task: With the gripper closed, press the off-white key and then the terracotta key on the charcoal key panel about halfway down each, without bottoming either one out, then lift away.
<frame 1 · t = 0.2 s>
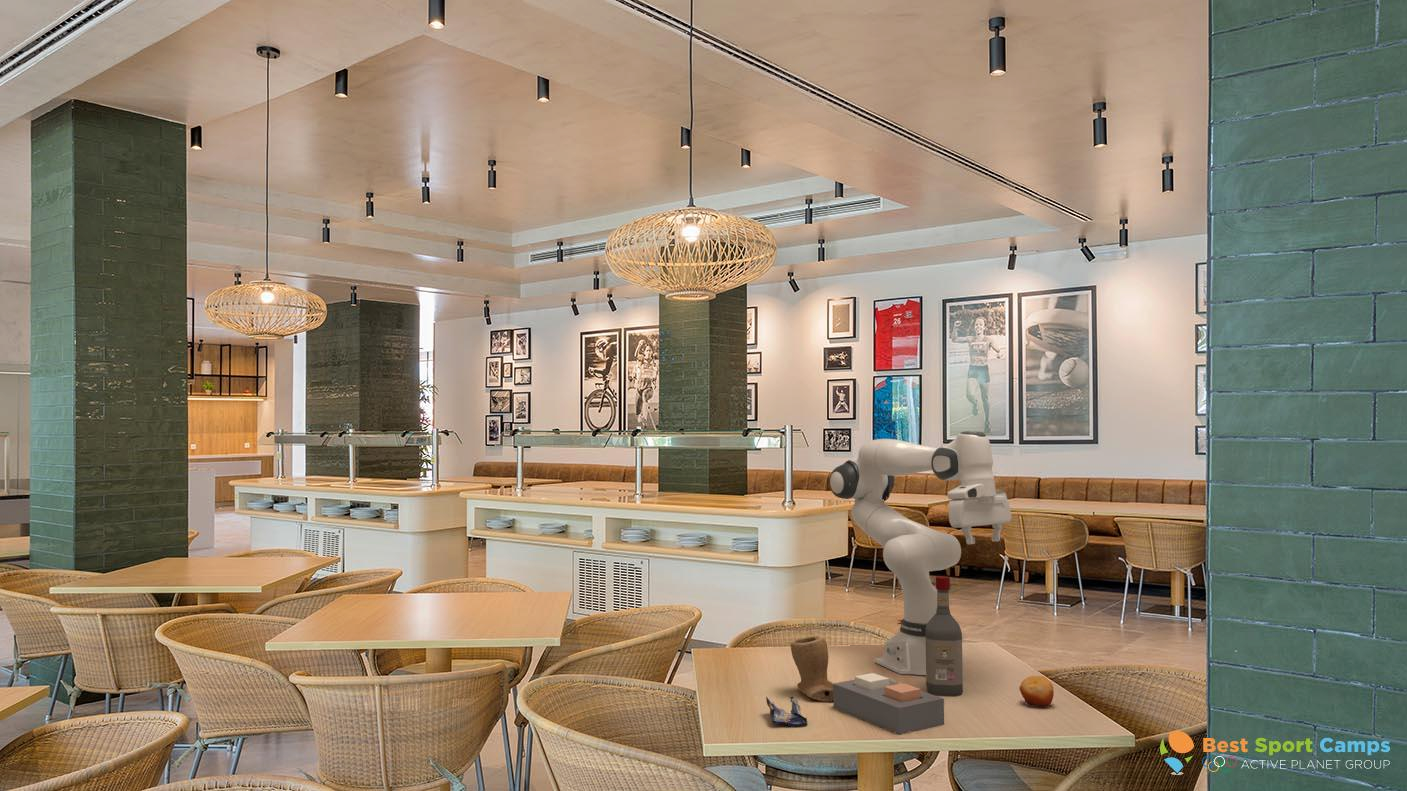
hand: (983, 542, 254), 39 cm above the table, tool pointing down, fingers open, 8 cm apart
dark blue forked piece: (786, 722, 227), on the table
liquor: (944, 692, 251), on the table
off-white key: (871, 683, 235), point 6 cm above the table, slide at 0.0 cm
key panel: (887, 715, 230), on the table
fruit: (1037, 705, 239), on the table
fork: (899, 698, 247), on the table
terracotta key: (902, 694, 226), point 6 cm above the table, slide at 0.0 cm
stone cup: (816, 696, 248), on the table
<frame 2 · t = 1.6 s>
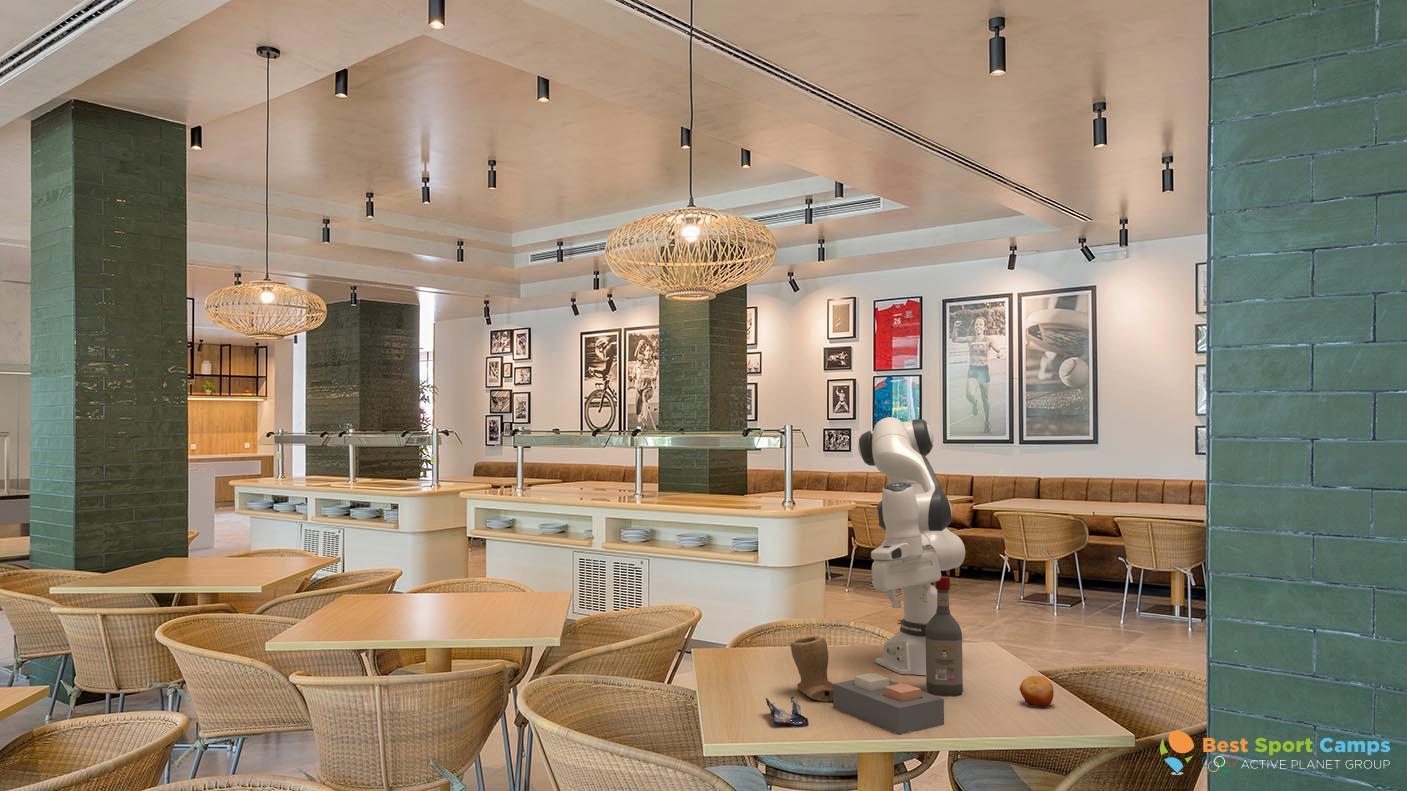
hand: (910, 604, 234), 26 cm above the table, tool pointing down, fingers open, 8 cm apart
nothing on the table moved.
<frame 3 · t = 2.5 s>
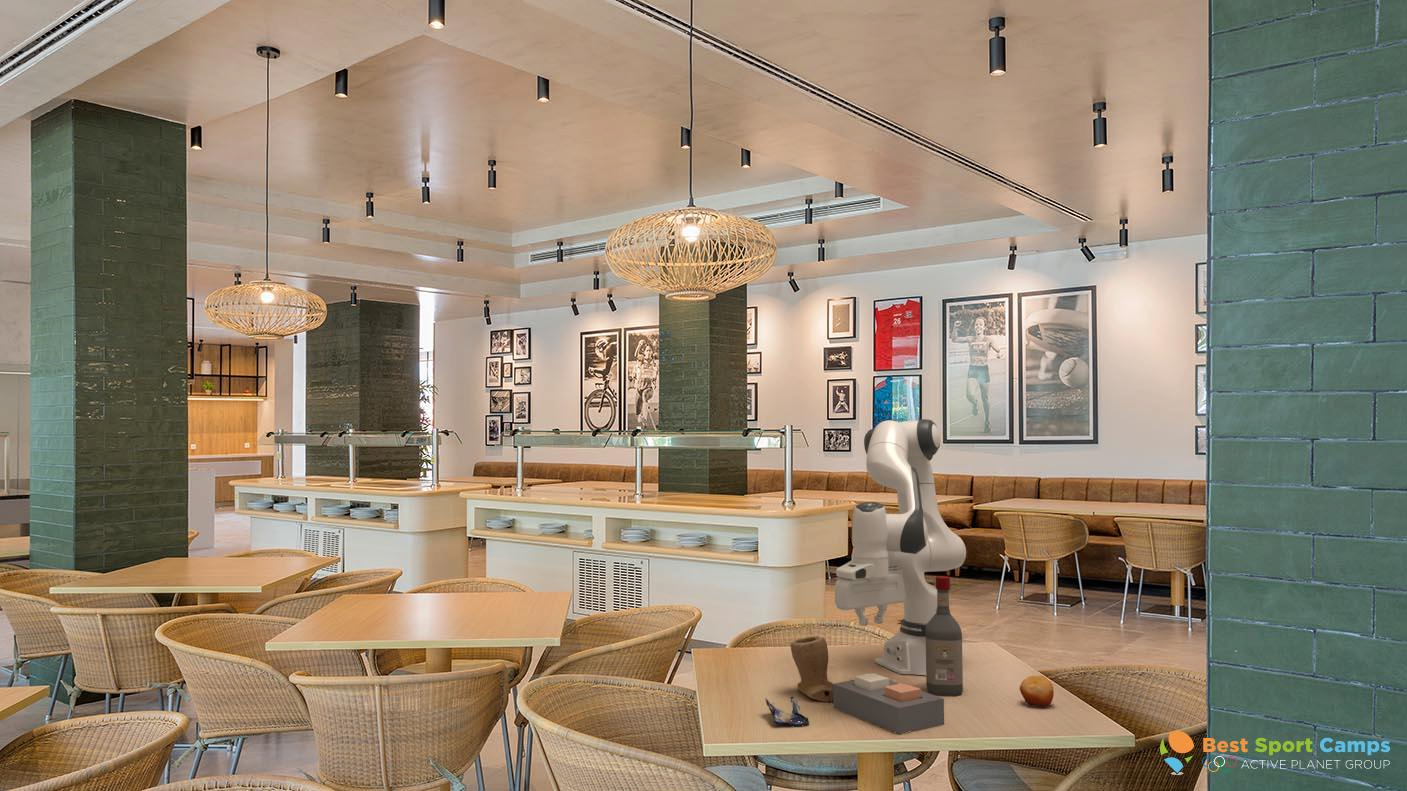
hand: (871, 624, 236), 21 cm above the table, tool pointing down, fingers open, 3 cm apart
nothing on the table moved.
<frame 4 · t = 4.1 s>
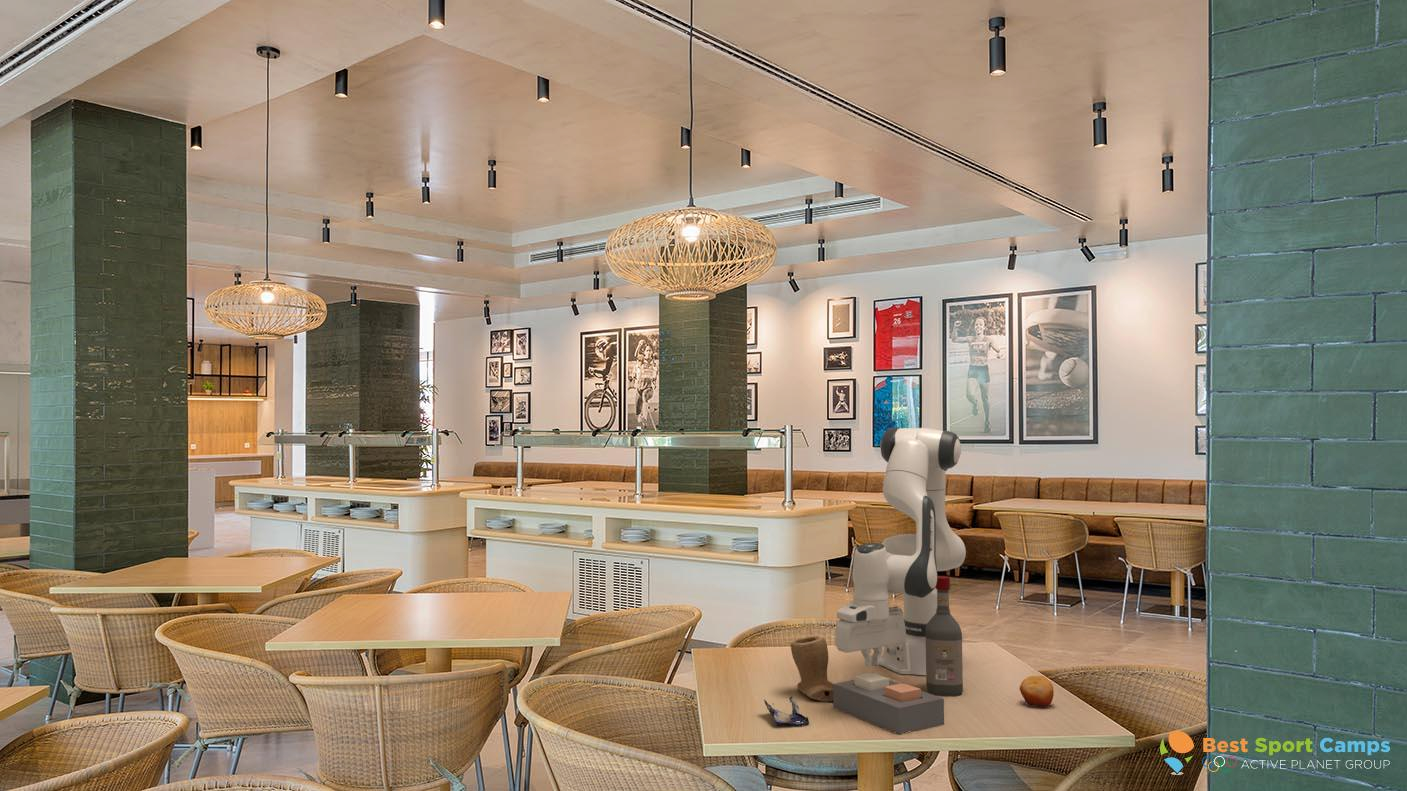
hand: (872, 665, 235), 11 cm above the table, tool pointing down, fingers closed
nothing on the table moved.
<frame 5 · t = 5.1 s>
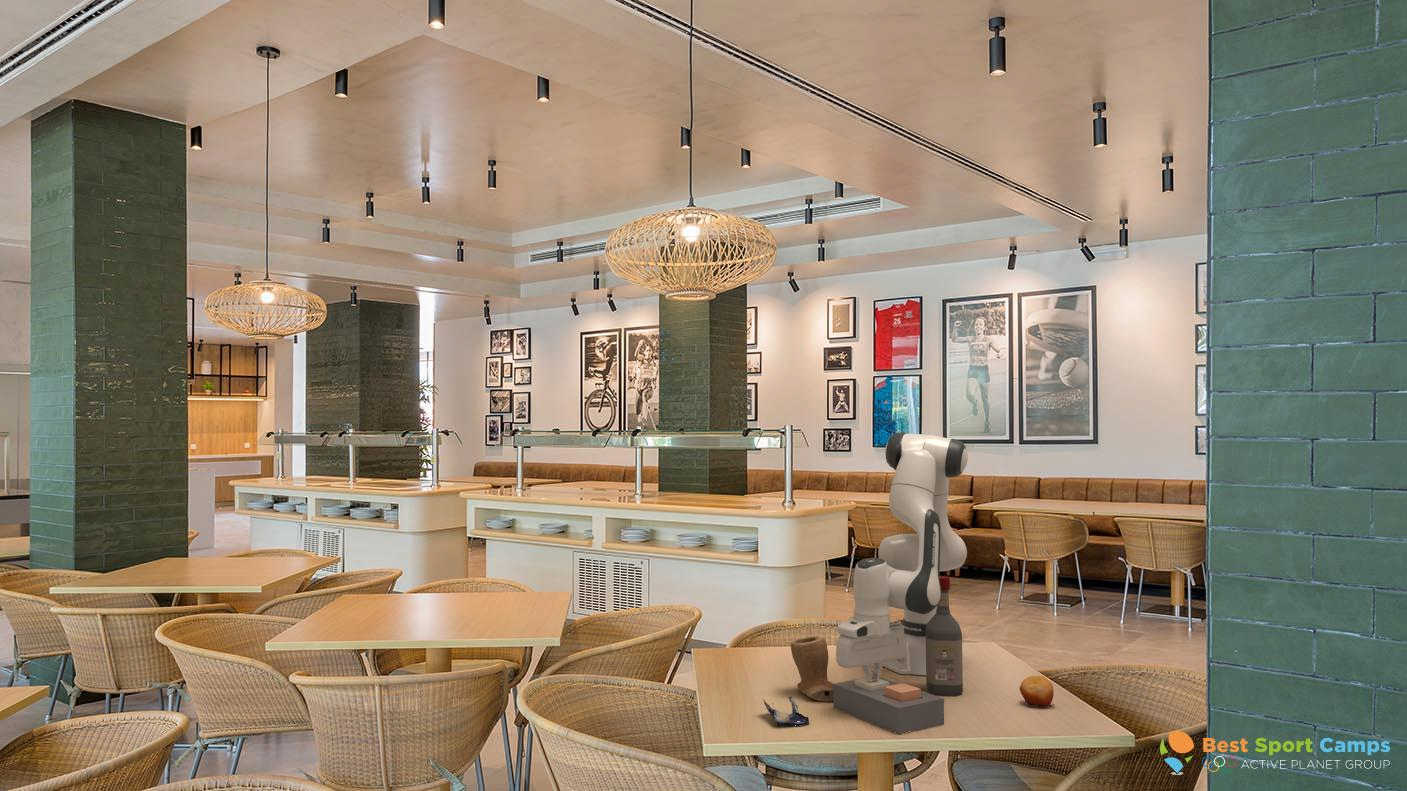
hand: (872, 681, 235), 7 cm above the table, tool pointing down, fingers closed
off-white key: (871, 687, 235), point 5 cm above the table, slide at 0.9 cm, touching gripper
everything else where it was.
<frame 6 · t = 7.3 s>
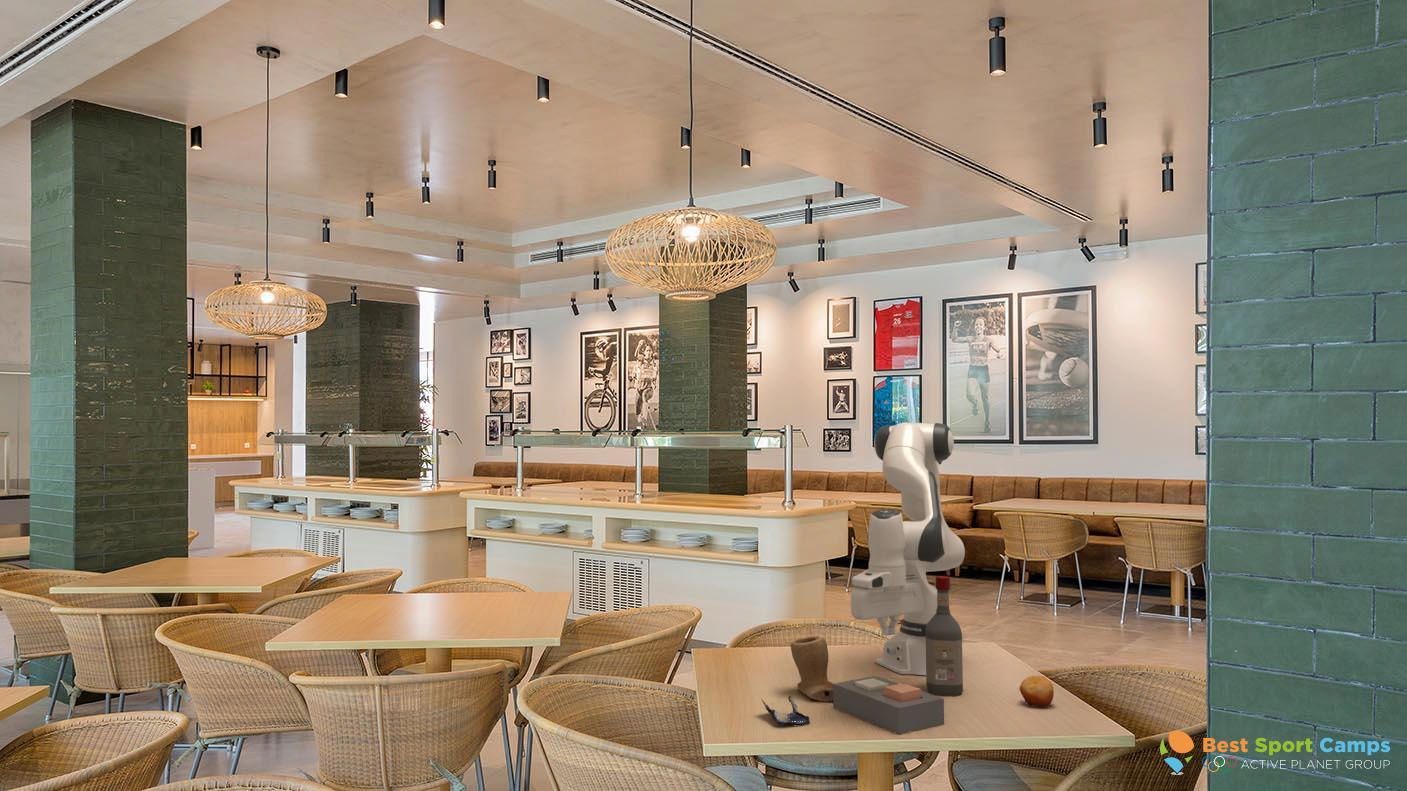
hand: (888, 634, 229), 20 cm above the table, tool pointing down, fingers closed
off-white key: (871, 689, 235), point 5 cm above the table, slide at 1.3 cm
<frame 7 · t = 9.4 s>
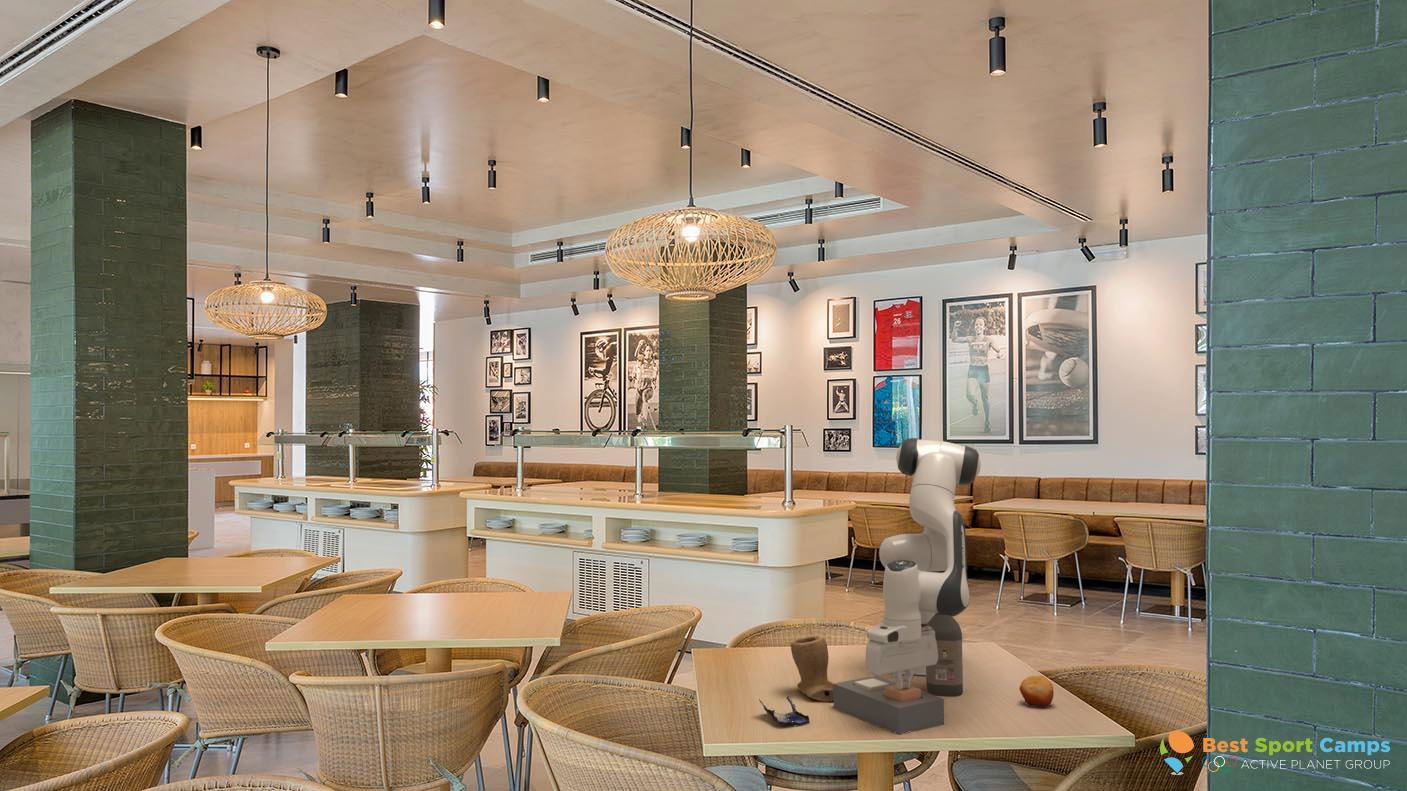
hand: (903, 688, 226), 8 cm above the table, tool pointing down, fingers closed, pressing on terracotta key
terracotta key: (902, 695, 226), point 6 cm above the table, slide at 0.1 cm, touching gripper
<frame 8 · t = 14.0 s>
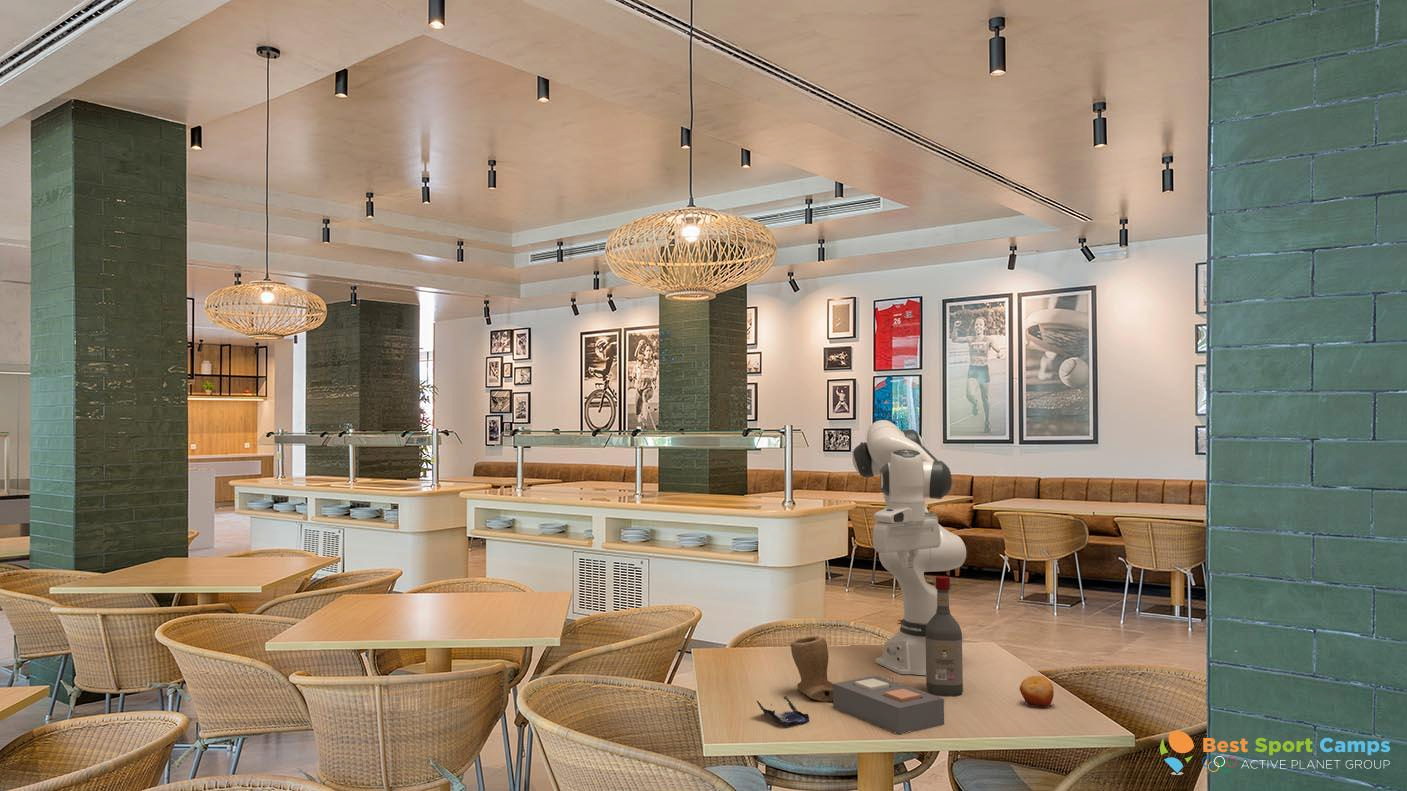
hand: (908, 567, 242), 34 cm above the table, tool pointing down, fingers closed
terracotta key: (902, 700, 226), point 5 cm above the table, slide at 1.3 cm
at the end: off-white key slide at 1.3 cm; terracotta key slide at 1.3 cm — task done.
